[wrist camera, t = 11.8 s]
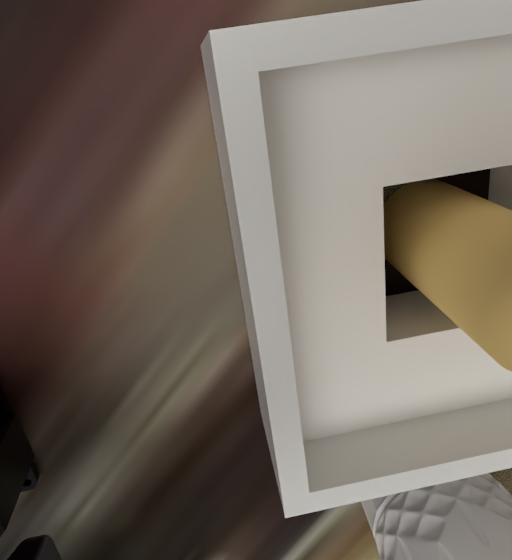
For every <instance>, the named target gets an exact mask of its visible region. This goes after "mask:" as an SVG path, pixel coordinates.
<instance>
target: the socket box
mask: <svg viewBox="0 0 512 560" xmlns="http://www.w3.org/2000/svg"><path fill="white" fill-rule="evenodd" d="M200 47H201V53H202V59H203V65H204V71H205V77H206V83H207V89H208V95H209V101H210V107H211V113H212V119H213V126H214V132H215V138H216V144H217V150H218V156H219V162H220V168H221V174H222V180H223V186H224V192H225V198H226V204H227V210H228V216H229V223H230V229H231V235H232V241H233V247H234V253H235V259H236V265H237V271H238V277H239V283H240V289H241V295H242V301H243V307H244V313H245V319H246V326H247V332H248V338H249V344H250V350H251V356H252V362H253V368H254V374H255V380H256V386H257V392H258V398H259V404H260V410H261V415H262V420H263V424H264V428H265V433H266V437H267V441H268V446H269V450H270V454H271V459H272V463H273V467H274V472H275V476H276V480H277V484H278V489H279V493H280V497H281V502H282V506H283V510H284V515H285V518H288V517H293V516H297V515H302V514H306V513H311V512H315V511H320V510H324V509H329V508H333V507H338V506H342V505H347V504H351V503H356V502H360V501H365V500H369V499H374V498H378V497H383V496H387V495H392V494H396V493H401V492H405V491H410V490H414V489H419V488H423V487H428V486H432V485H437V484H441V483H446V482H450V481H455V480H459V479H464V478H468V477H473V476H477V475H482V474H486V473H491V472H495V471H500V470H504V469H509V468H512V371H509V370H507V369H505V368H504V367H502V366H501V365H499V364H498V363H497V362H496V361H495V360H494V359H493V358H492V357H491V356H490V355H489V354H487V353H486V352H485V351H484V350H483V349H482V348H481V347H480V346H479V345H478V344H477V343H476V342H474V341H473V340H472V339H471V338H470V337H469V336H468V335H467V334H466V333H465V332H464V331H463V330H461V329H460V328H459V327H458V326H457V325H456V324H455V323H454V322H453V321H452V320H451V319H450V318H449V317H447V316H446V315H445V314H444V313H443V312H442V311H441V310H440V309H439V308H438V307H437V306H436V305H434V304H433V303H432V302H431V301H430V300H429V299H428V298H427V297H426V296H425V295H424V294H423V293H421V292H420V291H419V290H416V291H411V292H406V293H401V294H395V295H390V296H385V252H384V209H383V187H385V186H391V185H397V184H403V183H409V182H415V181H420V180H426V179H432V178H438V177H444V176H450V175H455V174H461V173H467V172H473V171H479V170H485V169H490V181H489V195H488V201H491V202H493V203H495V204H498V205H500V206H502V207H505V208H507V209H510V210H512V0H421V1H413V2H406V3H399V4H392V5H385V6H378V7H371V8H364V9H357V10H350V11H343V12H336V13H329V14H322V15H315V16H308V17H301V18H294V19H286V20H279V21H272V22H265V23H258V24H251V25H244V26H237V27H230V28H223V29H216V30H209V32H208V33H207V35H206V37H205V39H204V40H203V42H202V44H201V46H200Z"/></svg>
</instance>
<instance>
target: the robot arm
mask: <svg viewBox="0 0 512 560" xmlns="http://www.w3.org/2000/svg"><path fill="white" fill-rule="evenodd" d="M33 459H34V453H33V451H32V449H31V447H30V444H29V442H28V440H27V437H26V435H25V433H24V431H23V428H22V426H21V424H20V421H19V419H18V417H17V415H16V414H15V413H14V412H12V411H11V409H10V407H9V405H8V402H7V400H6V398H5V396H4V393H3V391H2V389H1V387H0V537H1V536H2V534H3V533H4V531H5V530H6V528H7V525H8V523H9V520H10V518H11V515H12V513H13V510H14V507H15V505H16V502H17V500H18V497H19V495H20V492H22V491H27V490H31V489H33V488H34V487H35V486H36V484H37V482H38V479H39V472H38V470H37V468H36V466H35V463H34V461H33ZM26 478H28V479H30V480H26ZM7 560H62V559H61V557H60V555H59V553H58V551H57V548H56V546H55V544H54V542H53V540H52V538H51V537H50V536H49V535H41V536H36V537H32V538H28V539H25V540H24V541H22V542H21V543H20V544H19V545H18V547H17V548H16V549H15V550H14V552H13V553H12V554H11V555H10V557H9V558H8V559H7Z"/></svg>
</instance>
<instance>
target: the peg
mask: <svg viewBox="0 0 512 560" xmlns="http://www.w3.org/2000/svg"><path fill="white" fill-rule="evenodd" d="M383 209H384V252H385V259H386V260H387V261H388V262H389V263H390V264H391V265H392V266H393V267H394V268H396V269H397V270H398V271H399V272H400V273H401V274H402V275H403V276H404V277H405V278H406V279H407V280H408V281H410V282H411V283H412V284H413V285H414V286H415V287H416V288H417V289H418V290H419V291H420V292H421V293H423V294H424V295H425V296H426V297H427V298H428V299H429V300H430V301H431V302H432V303H433V304H434V305H436V306H437V307H438V308H439V309H440V310H441V311H442V312H443V313H444V314H445V315H446V316H447V317H449V318H450V319H451V320H452V321H453V322H454V323H455V324H456V325H457V326H458V327H459V328H460V329H461V330H463V331H464V332H465V333H466V334H467V335H468V336H469V337H470V338H471V339H472V340H473V341H474V342H476V343H477V344H478V345H479V346H480V347H481V348H482V349H483V350H484V351H485V352H486V353H487V354H489V355H490V356H491V357H492V358H493V359H494V360H495V361H496V362H497V363H498V364H499V365H501V366H502V367H504V368H505V369H507V370H509V371H512V210H510V209H507V208H505V207H502V206H500V205H498V204H495V203H493V202H491V201H488V200H486V199H484V198H481V197H479V196H477V195H474V194H472V193H469V192H467V191H465V190H462V189H460V188H458V187H455V186H453V185H451V184H448V183H446V182H443V181H440V180H437V179H426V180H420V181H415V182H409V183H407V184H405V185H403V186H402V187H400V188H399V189H397V190H396V191H395V192H394V193H393V194H392V195H391V196H390V197H389V198H388V199H387V200H386V202H385V203H384V204H383Z"/></svg>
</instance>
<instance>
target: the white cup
mask: <svg viewBox="0 0 512 560" xmlns="http://www.w3.org/2000/svg"><path fill="white" fill-rule="evenodd" d="M361 503H362V506H363V509H364V511H365V514H366V517H367V519H368V522H369V525H370V528H371V530H372V533H373V536H374V539H375V541H376V545H377V551H378V557H379V559H380V560H512V495H511V494H510V493H509V492H508V491H507V490H506V489H505V488H504V487H503V486H502V485H501V484H500V483H499V482H498V481H497V480H496V479H495V478H494V477H493V476H492V475H491V474H490V473H486V474H482V475H477V476H473V477H468V478H464V479H459V480H455V481H450V482H446V483H441V484H437V485H432V486H428V487H423V488H419V489H414V490H410V491H405V492H401V493H396V494H392V495H387V496H383V497H378V498H374V499H369V500H365V501H361Z"/></svg>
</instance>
